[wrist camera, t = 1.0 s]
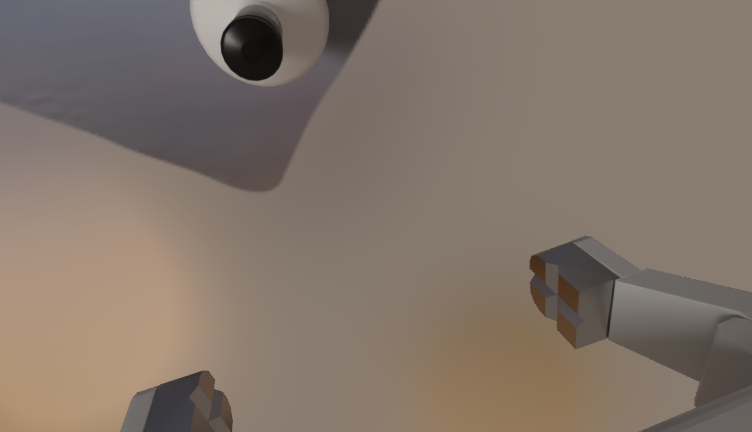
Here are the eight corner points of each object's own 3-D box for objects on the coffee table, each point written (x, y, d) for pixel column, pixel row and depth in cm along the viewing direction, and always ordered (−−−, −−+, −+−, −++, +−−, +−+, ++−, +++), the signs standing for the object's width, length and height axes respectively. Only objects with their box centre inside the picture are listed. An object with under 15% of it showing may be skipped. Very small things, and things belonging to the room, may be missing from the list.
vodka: (204, -10, 40) (79, 52, 15) (263, -88, 37) (224, -159, 13) (277, 57, 45) (270, 186, 20) (333, -7, 42) (401, 51, 18)
